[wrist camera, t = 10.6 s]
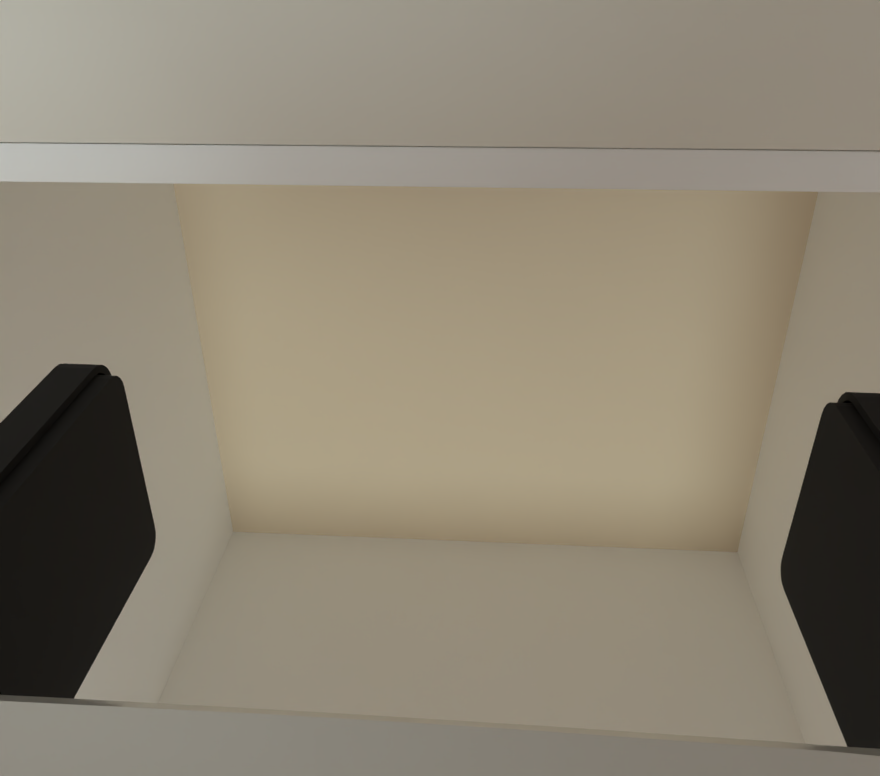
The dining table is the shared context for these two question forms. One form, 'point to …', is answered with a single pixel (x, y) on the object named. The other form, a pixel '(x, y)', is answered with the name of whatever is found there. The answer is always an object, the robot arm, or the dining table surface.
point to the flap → (444, 73)
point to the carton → (457, 416)
